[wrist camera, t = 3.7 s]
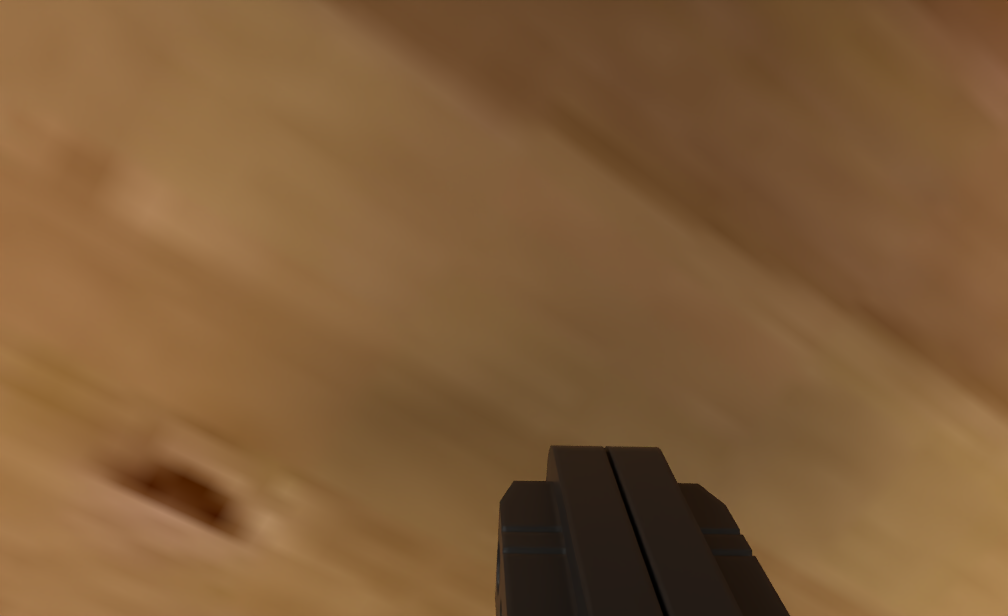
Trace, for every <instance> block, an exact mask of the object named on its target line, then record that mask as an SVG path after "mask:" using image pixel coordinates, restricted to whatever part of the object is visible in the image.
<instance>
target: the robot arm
mask: <svg viewBox="0 0 1008 616" xmlns="http://www.w3.org/2000/svg"><path fill="white" fill-rule="evenodd" d="M495 602H496V616H790V615H789V613H788V611H787V610H786V608H785V606H784V605H783V603H782V601H781V599H780V598H779V596H778V594H777V593H776V591H775V589H774V587H773V586H772V584H771V582H770V581H769V579H768V577H767V575H766V574H765V572H764V570H763V569H762V567H761V565H760V563H759V562H758V560H757V558H756V557H755V556H752V550H751V548H750V546H749V545H748V543H747V541H746V539H745V538H744V536H743V535H740V529H739V527H738V526H737V524H736V522H735V521H734V519H733V517H732V515H731V514H730V512H729V510H728V509H727V507H726V505H725V504H724V503H722V502H721V501H720V500H718V499H717V498H716V497H715V496H713V495H712V494H711V493H709V492H708V491H707V490H706V489H704V488H703V487H702V486H700V485H699V484H691V483H677V481H676V479H675V477H674V475H673V473H672V471H671V469H670V467H669V465H668V463H667V461H666V459H665V457H664V455H663V453H662V451H661V450H660V449H659V448H657V447H611V446H606V447H605V448H604V447H602V446H550V449H549V454H548V463H547V477H546V481H513V483H512V484H511V486H510V487H509V489H508V490H507V492H506V493H505V495H504V496H503V498H502V499H501V501H500V508H499V529H498V550H497V571H496V592H495Z"/></svg>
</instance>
